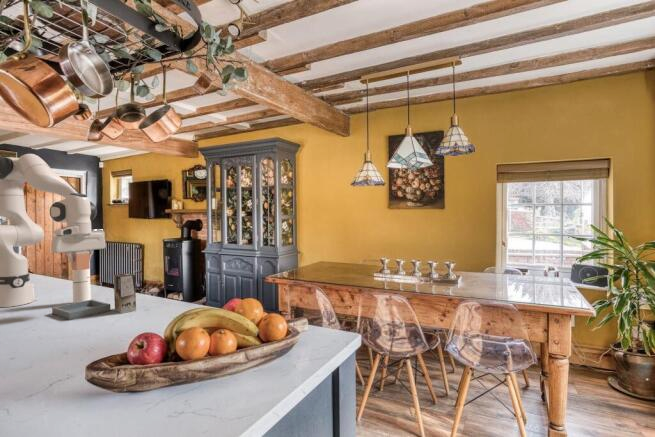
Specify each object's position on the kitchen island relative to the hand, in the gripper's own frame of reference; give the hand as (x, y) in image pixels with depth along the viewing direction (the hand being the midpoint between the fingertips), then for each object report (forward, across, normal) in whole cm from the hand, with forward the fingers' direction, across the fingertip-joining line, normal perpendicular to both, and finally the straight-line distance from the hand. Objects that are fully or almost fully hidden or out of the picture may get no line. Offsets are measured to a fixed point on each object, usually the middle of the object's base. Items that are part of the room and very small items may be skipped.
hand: (80, 261), depth 158 cm
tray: (+23, 0, 0) cm, 23 cm away
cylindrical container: (+23, -8, -18) cm, 31 cm away
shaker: (+4, 0, 0) cm, 4 cm away
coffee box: (+23, -12, +14) cm, 29 cm away
